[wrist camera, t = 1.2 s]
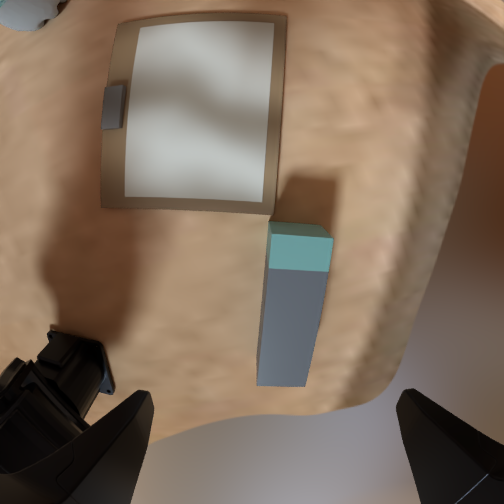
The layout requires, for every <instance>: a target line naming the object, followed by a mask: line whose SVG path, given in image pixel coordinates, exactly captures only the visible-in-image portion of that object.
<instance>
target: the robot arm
mask: <svg viewBox="0 0 504 504" xmlns="http://www.w3.org/2000/svg"><path fill="white" fill-rule="evenodd" d="M47 337H48V340H49V343H48V344H47V346H46V347H45V348H44V349H43V350H42V351H41V352H40V353H39V354H38V356H37V359H38V360H37V361H36V362H35V363H34V362H33V361H32V360H31V359H30V360H29V361H27V362H24V361H22V360H21V359H19V358H15V359H14V360H13V361H12V362H11V363H10V364H9V365H8V366H7V367H6V368H5V370H4V371H3V372H2V373H1V375H0V504H130V503H131V500H132V496H133V493H134V489H135V486H136V483H137V480H138V476H139V473H140V470H141V467H142V463H143V460H144V456H145V454H146V450H147V447H148V442H149V436H150V431H151V425H152V420H153V415H154V405H153V401H152V398H151V394H150V392H149V391H144V390H137V391H136V392H134V393H133V394H132V395H131V396H129V397H128V398H127V399H125V400H124V401H123V402H122V403H120V404H119V405H118V406H117V407H115V408H114V409H113V410H111V411H110V412H109V413H107V414H106V415H105V416H104V417H102V418H101V419H100V420H98V421H97V422H96V423H94V424H93V425H92V426H90V425H89V424H88V423H87V422H86V421H85V420H84V418H85V416H86V414H87V413H88V411H89V409H90V407H91V406H92V404H93V402H94V400H95V398H96V397H97V395H98V393H99V392H101V393H105V394H109V395H113V393H114V391H115V390H114V386H113V383H112V379H111V376H110V372H109V369H108V365H107V361H106V357H105V353H104V349H103V345H102V344H101V343H100V342H99V341H95V340H90V339H86V338H81V337H77V336H72V335H68V334H64V333H60V332H56V331H52V330H50V331H49V332H48V333H47ZM396 412H397V416H398V421H399V425H400V431H401V435H402V440H403V444H404V447H405V450H406V454H407V457H408V460H409V463H410V466H411V470H412V473H413V476H414V480H415V484H416V487H417V491H418V494H419V498H420V502H421V504H504V445H502V444H500V443H499V442H497V441H495V440H493V439H491V438H490V437H488V436H486V435H485V434H483V433H481V432H480V431H478V430H476V429H475V428H473V427H472V426H470V425H469V424H467V423H466V422H464V421H463V420H461V419H460V418H458V417H457V416H455V415H453V414H452V413H450V412H449V411H447V410H446V409H444V408H443V407H441V406H440V405H438V404H437V403H435V402H434V401H432V400H431V399H429V398H428V397H426V396H424V395H423V394H422V393H420V392H419V391H417V390H416V389H414V388H412V389H406V390H404V391H403V392H402V394H401V396H400V398H399V400H398V403H397V405H396Z"/></svg>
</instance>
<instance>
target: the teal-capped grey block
mask: <svg viewBox="0 0 504 504" xmlns="http://www.w3.org/2000/svg"><path fill="white" fill-rule="evenodd" d="M333 239H334V238H333V237H332V236H331V235H330V234H329V233H328V232H327V231H326V230H325V229H324V228H323V227H322V226H321V225H313V224H301V223H289V222H275V221H269V223H268V236H267V247H266V259H265V271H264V282H263V293H262V304H261V315H260V326H259V336H258V347H257V357H256V358H257V386H283V387H305V385H306V381H307V377H308V372H309V368H310V364H311V359H312V355H313V351H314V346H315V341H316V337H317V332H318V327H319V322H320V317H321V312H322V306H323V301H324V295H325V290H326V284H327V278H328V272H329V266H330V260H331V253H332V246H333Z"/></svg>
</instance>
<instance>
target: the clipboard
mask: <svg viewBox="0 0 504 504" xmlns="http://www.w3.org/2000/svg"><path fill="white" fill-rule="evenodd" d="M286 22H287V16H281V15H270V14H254V13H201V14H185V15H174V16H165V17H157V18H150V19H143V20H137V21H132V22H126V23H121V24H118V26H117V31H116V36H115V40H114V45H113V51H112V56H111V62H110V68H109V75H108V82H107V87H105V91H104V100H103V110H102V121H101V129H103V131H102V149H101V208H141V209H170V210H193V211H213V212H231V213H247V214H262V215H274V205H275V193H276V180H277V167H278V154H279V140H280V125H281V110H282V95H283V78H284V61H285V42H286Z"/></svg>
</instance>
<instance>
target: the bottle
mask: <svg viewBox="0 0 504 504" xmlns="http://www.w3.org/2000/svg"><path fill="white" fill-rule="evenodd" d="M65 1H66V0H0V24H2V25H4V26H6V27H8V28H11V29H13V30H17V31H36V30H38V29H40V28H42V27H43V25H44V21H43V20H45V19H52V18H55V17H56V16H57V14H58V10H57V5H58V4H59V2H61V3H63V2H65Z"/></svg>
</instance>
